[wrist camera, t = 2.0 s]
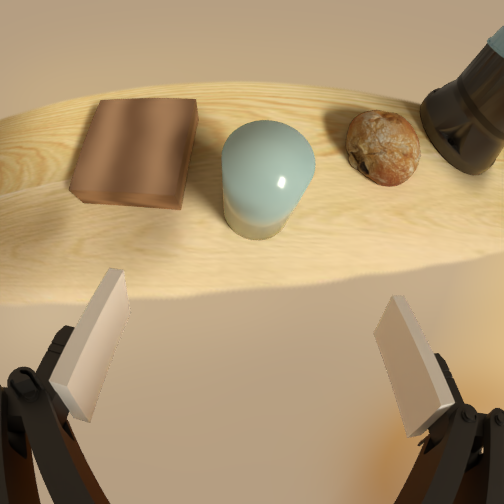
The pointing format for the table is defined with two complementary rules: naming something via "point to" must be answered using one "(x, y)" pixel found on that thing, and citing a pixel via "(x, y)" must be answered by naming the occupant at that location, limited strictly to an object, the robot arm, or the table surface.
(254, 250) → the table surface
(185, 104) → the pedestal
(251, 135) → the dome-topped cylinder
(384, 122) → the bread roll
